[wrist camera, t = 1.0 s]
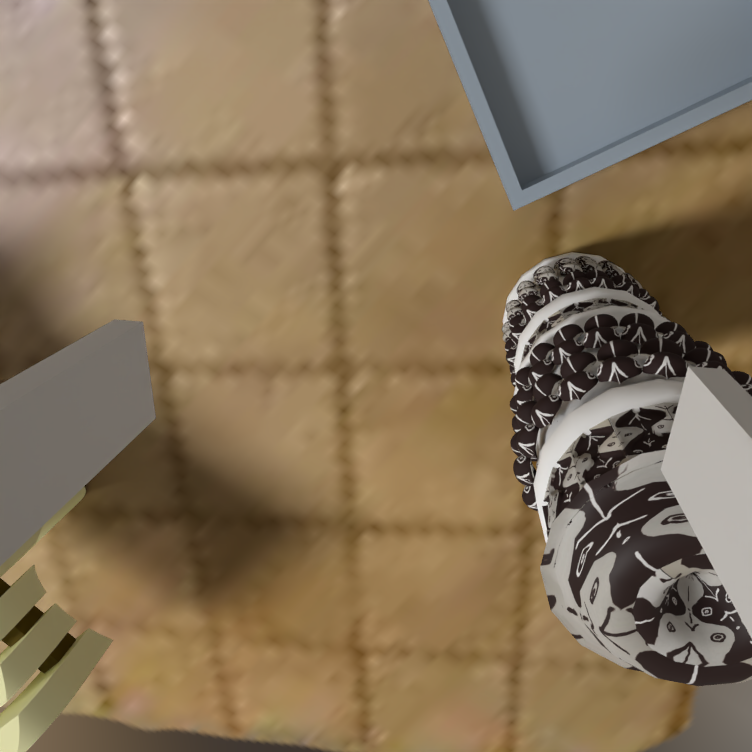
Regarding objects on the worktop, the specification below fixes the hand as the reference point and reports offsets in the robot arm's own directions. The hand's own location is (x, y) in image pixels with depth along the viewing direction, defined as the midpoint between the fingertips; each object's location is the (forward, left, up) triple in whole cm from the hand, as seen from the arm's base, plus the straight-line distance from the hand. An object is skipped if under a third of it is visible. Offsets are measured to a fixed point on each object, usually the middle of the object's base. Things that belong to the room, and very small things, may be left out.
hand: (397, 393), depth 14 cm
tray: (-8, +12, -25) cm, 28 cm away
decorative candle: (+8, +5, -25) cm, 27 cm away
